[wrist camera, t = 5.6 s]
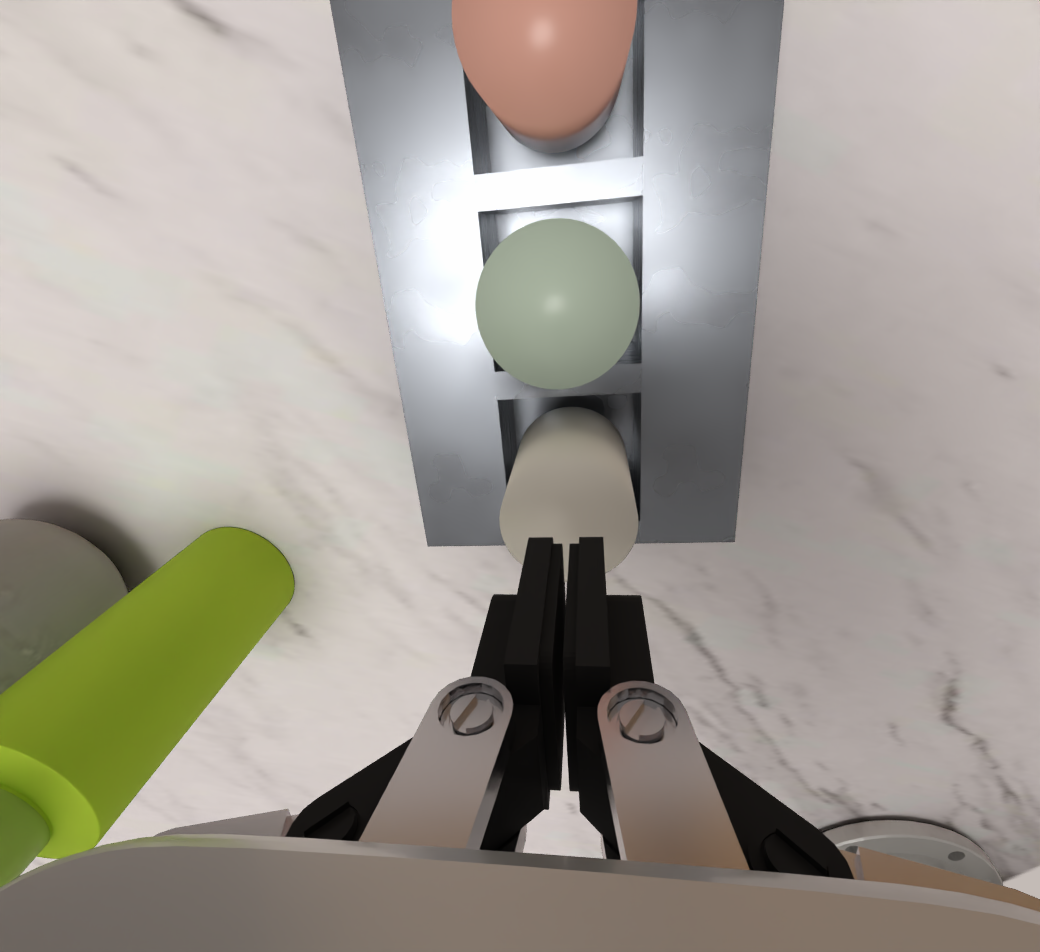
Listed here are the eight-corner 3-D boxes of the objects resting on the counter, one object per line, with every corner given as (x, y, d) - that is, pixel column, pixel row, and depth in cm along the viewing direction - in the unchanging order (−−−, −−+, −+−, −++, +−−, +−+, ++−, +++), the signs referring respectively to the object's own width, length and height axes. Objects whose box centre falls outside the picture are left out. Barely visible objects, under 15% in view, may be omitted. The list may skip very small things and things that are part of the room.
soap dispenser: (327, 569, 29) (-116, 1150, 10) (256, 632, 31) (-201, 1191, 13) (238, 494, 27) (-447, 1015, 9) (172, 567, 30) (-471, 1089, 12)
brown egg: (621, -21, 15) (638, -130, 10) (622, 145, 17) (636, 113, 12) (481, 1, 16) (439, -94, 11) (495, 159, 17) (463, 134, 13)
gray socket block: (745, -61, 17) (798, -156, 13) (709, 490, 24) (734, 542, 20) (377, -2, 18) (317, -70, 14) (452, 497, 26) (427, 546, 22)
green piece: (625, 215, 16) (640, 209, 12) (625, 346, 18) (639, 384, 14) (497, 228, 17) (465, 226, 12) (508, 354, 19) (484, 393, 14)
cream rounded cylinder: (625, 403, 19) (638, 458, 14) (626, 504, 21) (637, 581, 16) (513, 409, 19) (492, 463, 15) (523, 506, 21) (506, 582, 17)
